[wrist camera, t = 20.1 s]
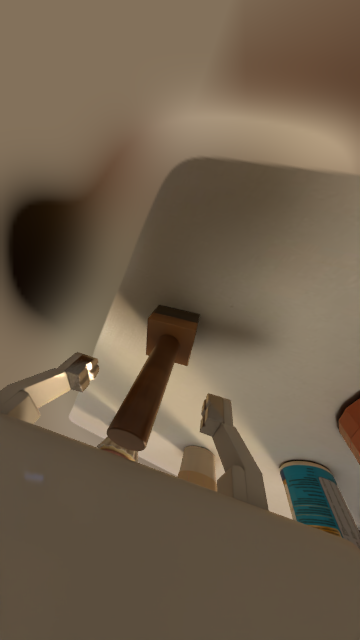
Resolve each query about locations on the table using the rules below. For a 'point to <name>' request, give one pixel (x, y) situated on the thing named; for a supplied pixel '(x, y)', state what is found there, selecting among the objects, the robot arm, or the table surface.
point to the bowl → (351, 428)
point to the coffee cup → (198, 467)
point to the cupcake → (118, 450)
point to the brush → (154, 375)
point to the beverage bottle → (318, 500)
